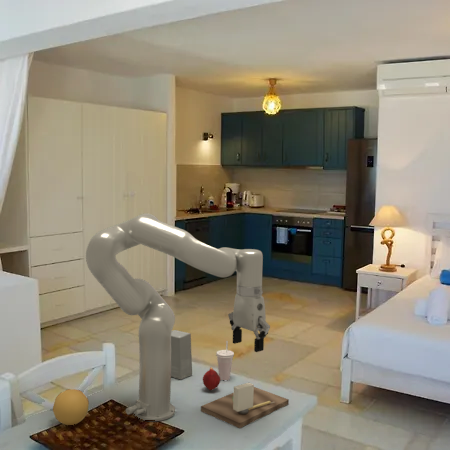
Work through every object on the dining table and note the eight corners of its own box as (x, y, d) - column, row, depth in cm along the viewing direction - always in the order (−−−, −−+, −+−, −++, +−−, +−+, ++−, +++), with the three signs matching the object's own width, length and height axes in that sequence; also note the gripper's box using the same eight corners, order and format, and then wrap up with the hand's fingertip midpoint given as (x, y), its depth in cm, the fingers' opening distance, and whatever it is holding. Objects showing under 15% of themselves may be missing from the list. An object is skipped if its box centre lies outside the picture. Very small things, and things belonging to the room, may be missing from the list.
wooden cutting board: (239, 428, 159) (240, 422, 159) (200, 411, 170) (200, 405, 169) (288, 404, 177) (288, 398, 176) (250, 390, 187) (250, 384, 187)
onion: (222, 389, 187) (223, 366, 186) (213, 395, 182) (214, 371, 181) (208, 385, 190) (209, 363, 189) (199, 391, 185) (199, 368, 184)
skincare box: (192, 375, 199) (193, 333, 197) (179, 381, 193) (180, 337, 192) (175, 369, 204) (176, 328, 203) (161, 375, 198) (162, 332, 197)
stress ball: (81, 434, 154) (101, 403, 160) (59, 415, 150) (80, 383, 155) (61, 428, 161) (81, 399, 167) (39, 410, 156) (60, 380, 162)
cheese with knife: (238, 416, 163) (239, 389, 162) (231, 412, 165) (232, 386, 164) (273, 405, 171) (274, 379, 170) (266, 401, 174) (267, 376, 173)
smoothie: (231, 383, 193) (232, 344, 192) (213, 381, 194) (214, 342, 193) (234, 376, 199) (235, 339, 198) (217, 374, 200) (218, 337, 199)
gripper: (278, 294, 159) (277, 352, 161) (239, 284, 172) (238, 337, 174) (260, 298, 154) (258, 357, 156) (221, 287, 167) (219, 342, 169)
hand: (247, 346), depth 165 cm, fingers open, 9 cm apart
